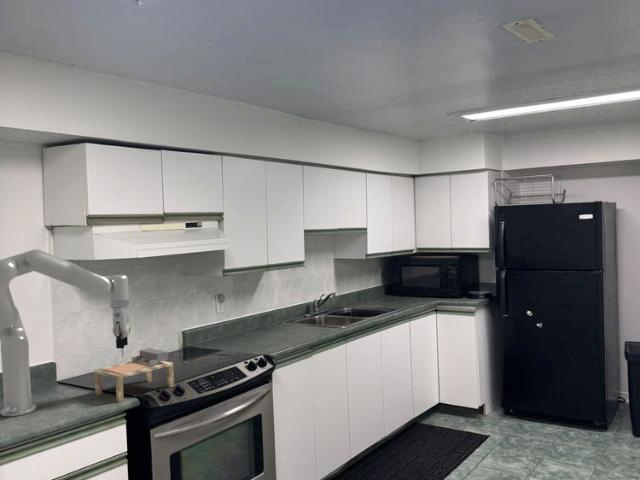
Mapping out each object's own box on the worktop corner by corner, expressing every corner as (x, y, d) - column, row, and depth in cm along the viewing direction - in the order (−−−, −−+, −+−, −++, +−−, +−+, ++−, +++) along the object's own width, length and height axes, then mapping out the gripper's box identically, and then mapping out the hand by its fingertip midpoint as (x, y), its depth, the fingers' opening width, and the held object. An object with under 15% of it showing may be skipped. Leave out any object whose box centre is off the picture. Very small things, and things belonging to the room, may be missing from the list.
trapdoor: (149, 360, 268) (149, 348, 268) (167, 364, 259) (167, 351, 259) (104, 371, 251) (104, 358, 251) (122, 376, 242) (121, 362, 242)
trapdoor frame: (149, 380, 271) (148, 357, 270) (174, 386, 258) (173, 362, 258) (95, 394, 251) (94, 370, 250) (119, 402, 238) (117, 376, 238)
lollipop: (130, 357, 247) (128, 322, 247) (112, 359, 246) (111, 323, 245) (132, 354, 254) (130, 319, 254) (115, 355, 253) (113, 320, 252)
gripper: (124, 306, 241) (126, 350, 242) (133, 301, 258) (135, 342, 259) (105, 307, 240) (107, 351, 241) (115, 302, 258) (118, 343, 258)
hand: (122, 346), depth 250 cm, fingers closed on lollipop, 5 cm apart
